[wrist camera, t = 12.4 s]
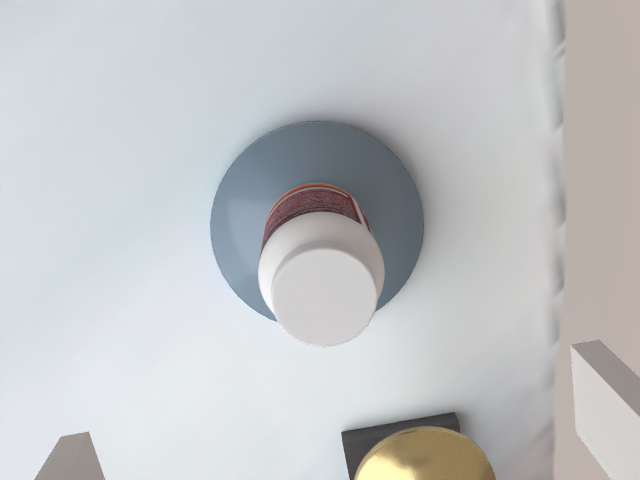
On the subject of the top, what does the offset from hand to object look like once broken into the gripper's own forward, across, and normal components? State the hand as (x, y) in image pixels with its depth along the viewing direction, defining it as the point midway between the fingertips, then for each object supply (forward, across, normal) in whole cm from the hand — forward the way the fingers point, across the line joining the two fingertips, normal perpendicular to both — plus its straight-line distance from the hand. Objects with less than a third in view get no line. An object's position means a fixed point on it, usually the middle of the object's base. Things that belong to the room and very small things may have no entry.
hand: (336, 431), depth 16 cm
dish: (+22, 0, 0) cm, 22 cm away
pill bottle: (+21, 0, 0) cm, 21 cm away
